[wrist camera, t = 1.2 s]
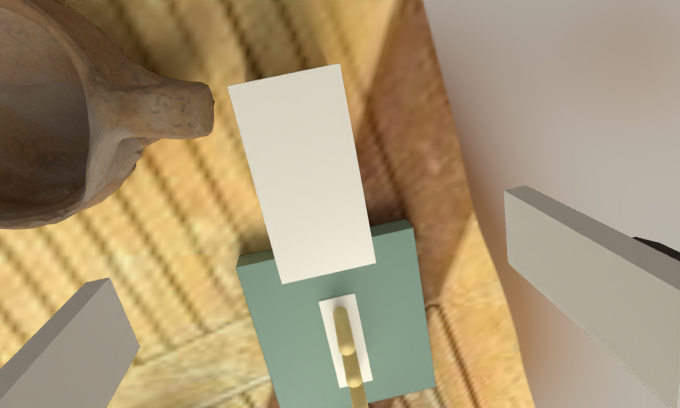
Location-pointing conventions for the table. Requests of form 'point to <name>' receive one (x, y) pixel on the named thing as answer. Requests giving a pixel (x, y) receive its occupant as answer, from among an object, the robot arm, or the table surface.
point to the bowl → (78, 113)
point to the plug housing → (305, 171)
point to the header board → (343, 326)
